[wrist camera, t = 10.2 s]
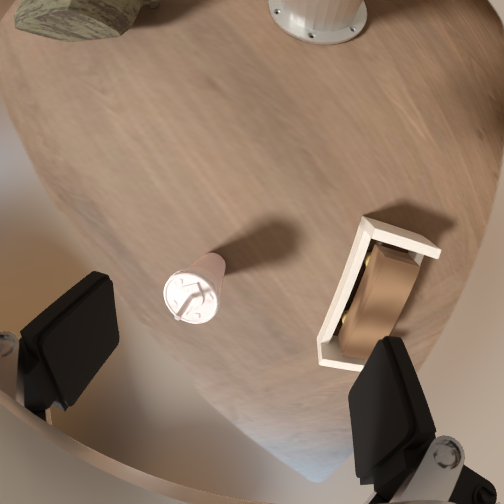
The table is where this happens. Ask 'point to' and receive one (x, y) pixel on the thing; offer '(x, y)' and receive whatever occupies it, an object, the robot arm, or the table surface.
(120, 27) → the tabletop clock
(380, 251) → the plank
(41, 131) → the table surface
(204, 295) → the smoothie
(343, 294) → the frame
